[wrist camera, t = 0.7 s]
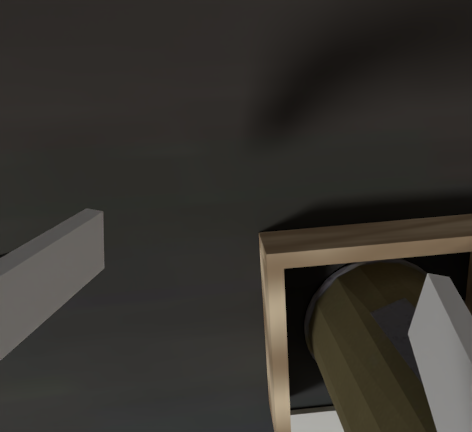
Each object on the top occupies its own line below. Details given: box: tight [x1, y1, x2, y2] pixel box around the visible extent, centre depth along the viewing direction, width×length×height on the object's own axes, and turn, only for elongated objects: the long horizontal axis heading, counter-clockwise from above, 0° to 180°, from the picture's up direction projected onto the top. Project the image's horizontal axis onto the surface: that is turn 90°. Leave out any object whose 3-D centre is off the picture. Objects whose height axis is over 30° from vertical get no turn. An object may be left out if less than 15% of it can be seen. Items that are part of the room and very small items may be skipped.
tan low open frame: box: [259, 214, 472, 432], centre depth 27 cm, size 14×16×4 cm
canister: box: [304, 258, 472, 432], centre depth 20 cm, size 11×10×20 cm
